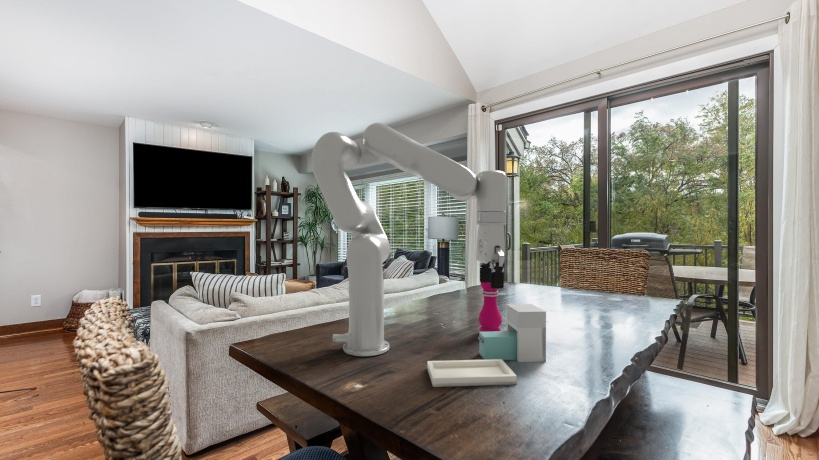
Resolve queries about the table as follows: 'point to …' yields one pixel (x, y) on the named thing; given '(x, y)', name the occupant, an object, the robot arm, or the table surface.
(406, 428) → the table surface
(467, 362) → the tray
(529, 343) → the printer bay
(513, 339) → the mint rectangular box
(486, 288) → the pepper mill
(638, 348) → the table surface
